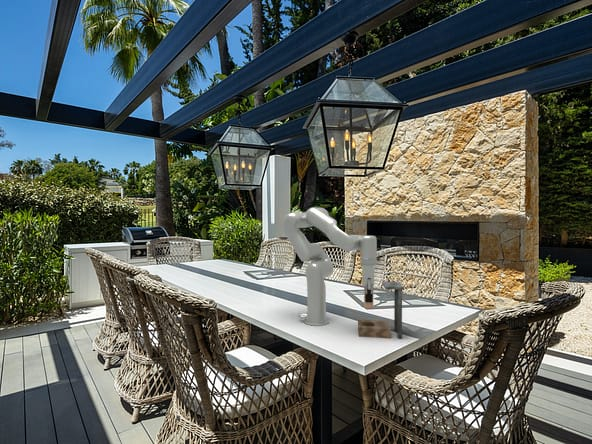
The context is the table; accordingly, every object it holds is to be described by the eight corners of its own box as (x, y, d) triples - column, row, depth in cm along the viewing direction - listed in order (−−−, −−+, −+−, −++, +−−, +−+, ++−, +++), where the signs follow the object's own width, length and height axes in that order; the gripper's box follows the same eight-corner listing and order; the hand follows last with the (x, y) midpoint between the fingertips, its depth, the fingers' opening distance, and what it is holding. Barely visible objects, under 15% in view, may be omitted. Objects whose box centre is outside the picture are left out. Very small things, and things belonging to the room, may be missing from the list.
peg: (364, 307, 153) (364, 286, 153) (364, 305, 157) (364, 284, 157) (373, 307, 153) (373, 286, 153) (372, 305, 157) (372, 284, 157)
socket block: (358, 336, 150) (358, 285, 150) (358, 327, 162) (358, 281, 162) (403, 339, 147) (403, 287, 147) (399, 330, 159) (399, 282, 159)
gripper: (359, 259, 164) (359, 296, 164) (360, 264, 147) (361, 305, 147) (375, 260, 163) (375, 297, 163) (378, 264, 146) (378, 305, 146)
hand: (368, 300), depth 155 cm, fingers closed on peg, 4 cm apart
